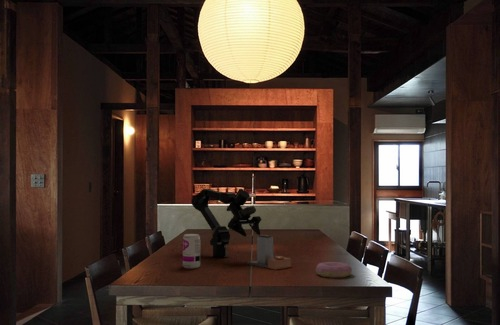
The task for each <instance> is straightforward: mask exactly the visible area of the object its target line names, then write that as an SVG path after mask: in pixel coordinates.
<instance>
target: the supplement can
mask: <svg viewBox="0 0 500 325" xmlns="http://www.w3.org/2000/svg"><path fill="white" fill-rule="evenodd" d="M182 267H183V268H184V269H197V268H199V267H201V236H200V234H199V233H198V234H197V233H186V234H184V235H183V237H182Z"/></svg>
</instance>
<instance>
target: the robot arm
mask: <svg viewBox="0 0 500 325" xmlns="http://www.w3.org/2000/svg"><path fill="white" fill-rule="evenodd" d="M250 196H251V195H250V193H249V192H248V191H246V190H244V189H243V188H239V189H238V190H237V192H236V193H235V192H233V191H232V192H231V191H230V192H222V191H218V190H216V189H215V190H214V189H211V188H203V189H201V191H199V192H198V193H197V194H195V195H194V196H192V199H191V205H192V207H193V208H194V209H195V210H197V211H198V212H200V213H201V215H202V217H203V218H204V219H205V221H206V223H207V225H209V227H210V229H211V230H212V235H211V236H212V237H211V239H210V240H209V243H210V246H212V256H211V257H212V258H225V257H227V256H228V248H227V245H228V246H229V242H230V239H231V234H230V230H231V231H234V232H235V233H238V234H240V235H242V236H243V237H245V238H246V237H247V236H248V235H247V233H246V231H245V229H244V228H243V226H244V225H245V226H246V225H249V227H250V229H251V231H253V232H254V233H255V234H257V235H258V236H259V235H261V230H260V223H261V221H262V218H261V216H258V215H257V216H256V215H254V216H251V215H253V214H255V213H256V212H257V209H256V206H253V205H251V206H246V207H244V208H243V207H242V206H245V204H246V203H247V201H248V200H249V198H250ZM211 199H216V200H219V202H221V203H222V204H225V205H227V206H226V207H227V208H226V212H231V214H232V217H231V218H230V220H229V221H228V223H227V226H226V225H221V224H220V223H219V221H218V220H217V218H216V217H215V215H214V214H213V212H212V210H211V209H210V207H209V201H211ZM228 204H229V205H228ZM251 217H252V218H251ZM250 218H251V219H250ZM227 227H228V228H227ZM228 229H229V230H228Z"/></svg>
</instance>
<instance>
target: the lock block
mask: <svg viewBox="0 0 500 325" xmlns="http://www.w3.org/2000/svg"><path fill="white" fill-rule="evenodd" d="M268 259H274V237H273V236H272V235H266V234H260V235H258V236H257V237H256V260H257V262H258V263H263V264H267V263H268Z"/></svg>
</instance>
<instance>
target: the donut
mask: <svg viewBox="0 0 500 325" xmlns="http://www.w3.org/2000/svg"><path fill="white" fill-rule="evenodd" d="M315 272H316V274H317V275H318V276H321V277H324V278H332V279H333V278H334V279H336V278H337V279H339V278H340V279H343V278H346V277H349V276H350V275H351V274H352V267H351V266H350V265H349V264H348V263H344V262H341V261H340V262H338V261H326V262H319V263H318V264H317V265H316V267H315Z"/></svg>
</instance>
